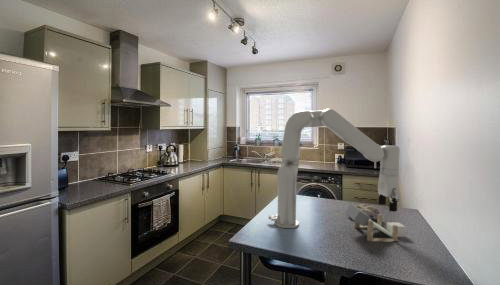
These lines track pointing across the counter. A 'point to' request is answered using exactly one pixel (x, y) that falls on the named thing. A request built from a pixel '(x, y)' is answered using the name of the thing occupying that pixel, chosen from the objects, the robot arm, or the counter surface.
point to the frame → (371, 227)
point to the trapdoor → (363, 218)
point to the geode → (368, 210)
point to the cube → (400, 228)
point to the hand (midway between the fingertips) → (387, 207)
